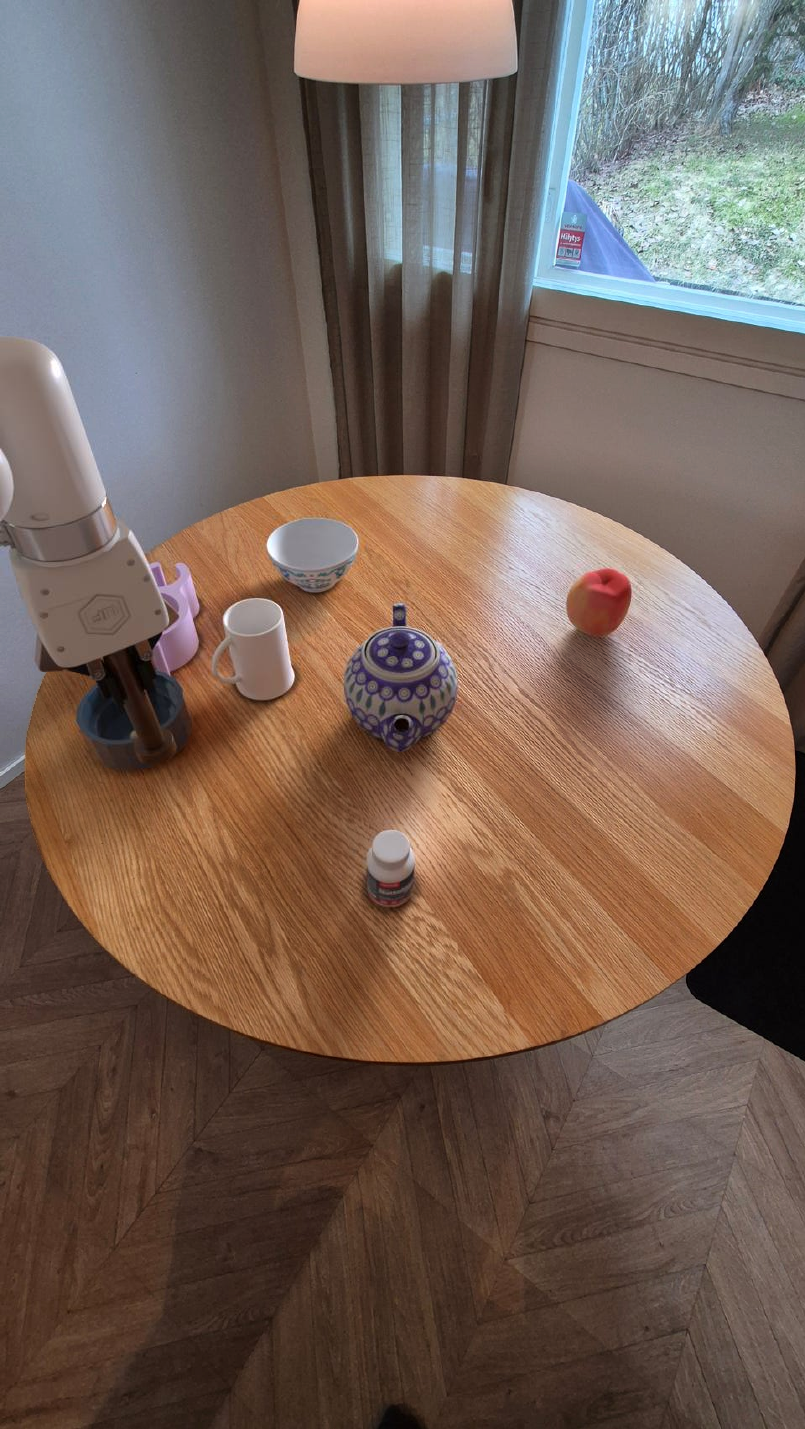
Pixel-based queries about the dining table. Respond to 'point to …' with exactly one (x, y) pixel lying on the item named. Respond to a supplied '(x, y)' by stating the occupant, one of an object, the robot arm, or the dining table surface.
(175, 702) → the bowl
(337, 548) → the chinaware
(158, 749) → the rod
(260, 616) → the mug
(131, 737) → the bead
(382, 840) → the pill bottle
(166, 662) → the clip
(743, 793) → the dining table surface
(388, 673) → the teapot
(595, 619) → the apple
